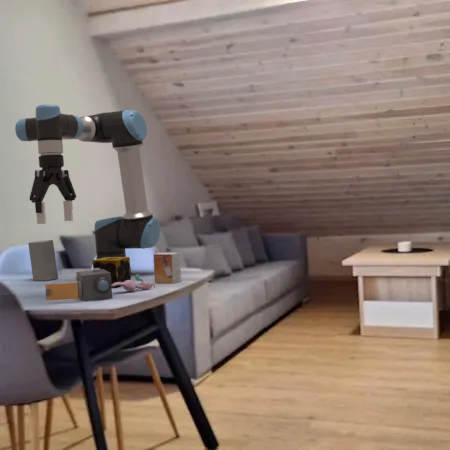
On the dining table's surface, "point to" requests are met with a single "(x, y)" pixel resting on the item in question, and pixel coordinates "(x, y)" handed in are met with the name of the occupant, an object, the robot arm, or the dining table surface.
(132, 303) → the dining table surface
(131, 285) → the pink creature figurine
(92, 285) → the camera body
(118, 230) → the robot arm
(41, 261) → the skincare box
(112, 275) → the candle
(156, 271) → the small box
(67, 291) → the side door
